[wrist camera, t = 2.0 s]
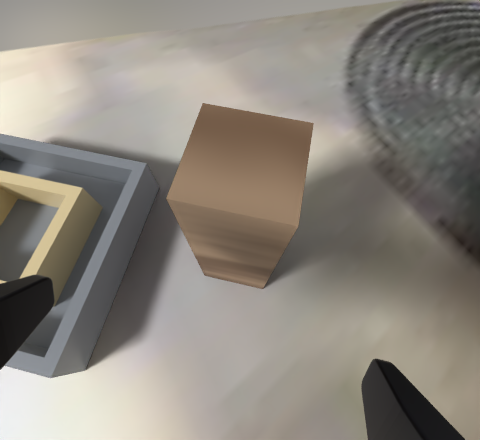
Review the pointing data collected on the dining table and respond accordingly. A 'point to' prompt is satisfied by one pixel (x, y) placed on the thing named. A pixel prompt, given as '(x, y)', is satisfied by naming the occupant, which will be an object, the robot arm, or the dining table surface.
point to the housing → (69, 241)
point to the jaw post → (241, 191)
